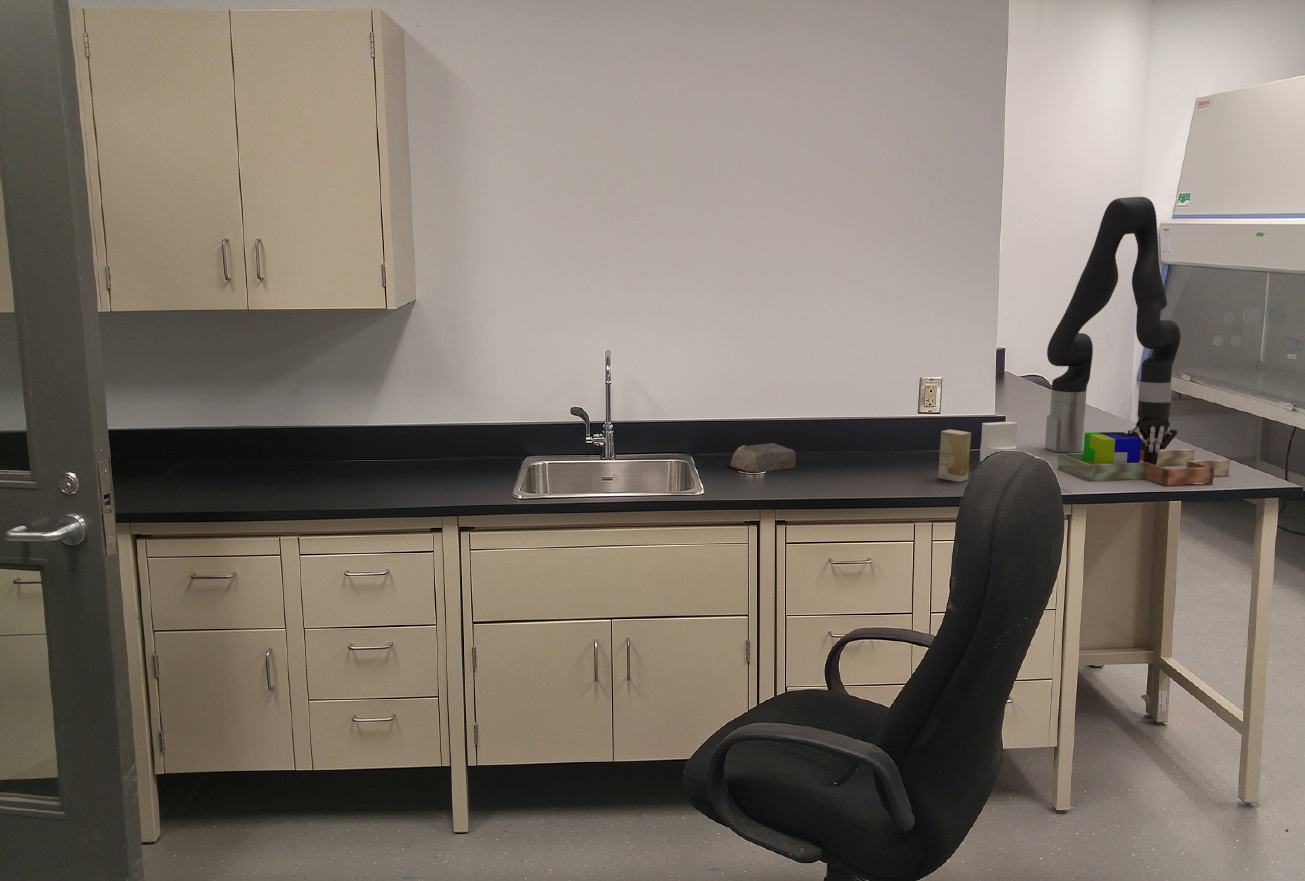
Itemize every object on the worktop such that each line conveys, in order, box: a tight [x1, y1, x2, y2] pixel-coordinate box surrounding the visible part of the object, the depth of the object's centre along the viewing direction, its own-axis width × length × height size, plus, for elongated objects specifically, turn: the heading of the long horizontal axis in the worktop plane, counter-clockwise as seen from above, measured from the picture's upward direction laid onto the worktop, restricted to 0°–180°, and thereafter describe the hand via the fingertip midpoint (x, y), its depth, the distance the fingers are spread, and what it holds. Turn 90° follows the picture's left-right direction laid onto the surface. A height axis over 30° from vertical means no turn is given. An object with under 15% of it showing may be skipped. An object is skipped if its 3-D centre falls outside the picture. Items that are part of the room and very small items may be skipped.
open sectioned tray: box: [1057, 448, 1231, 487], centre depth 276 cm, size 38×31×4 cm
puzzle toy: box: [1082, 431, 1142, 464], centre depth 273 cm, size 10×10×10 cm
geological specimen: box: [729, 442, 797, 473], centre depth 285 cm, size 11×6×15 cm
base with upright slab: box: [979, 421, 1018, 463], centre depth 281 cm, size 9×9×12 cm
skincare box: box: [937, 429, 972, 483], centre depth 268 cm, size 6×4×12 cm
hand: (1150, 465), depth 276 cm, fingers closed
